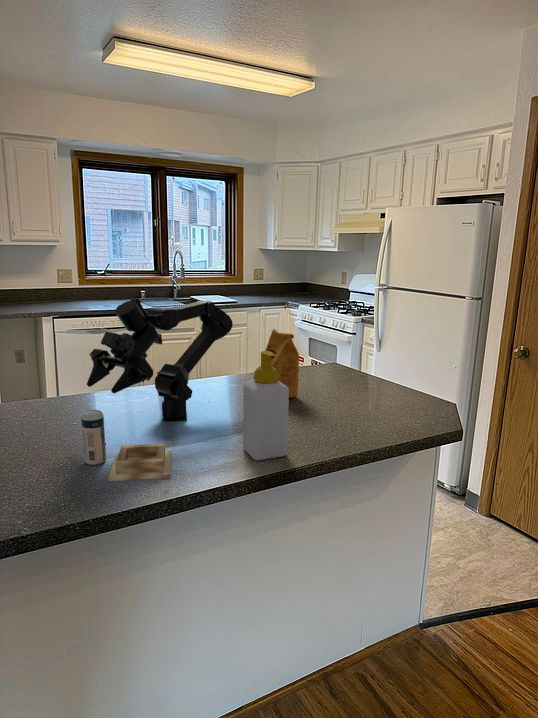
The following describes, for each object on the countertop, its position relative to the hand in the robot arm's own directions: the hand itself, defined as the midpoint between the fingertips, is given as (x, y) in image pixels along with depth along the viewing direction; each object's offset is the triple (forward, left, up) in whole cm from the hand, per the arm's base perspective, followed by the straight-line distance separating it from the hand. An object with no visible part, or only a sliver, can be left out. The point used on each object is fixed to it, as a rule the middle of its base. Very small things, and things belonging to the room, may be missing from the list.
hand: (99, 388), depth 123 cm
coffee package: (-51, -37, -15) cm, 65 cm away
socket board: (-11, +14, -15) cm, 23 cm away
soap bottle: (-39, +9, -15) cm, 43 cm away
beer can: (0, +10, -15) cm, 18 cm away
